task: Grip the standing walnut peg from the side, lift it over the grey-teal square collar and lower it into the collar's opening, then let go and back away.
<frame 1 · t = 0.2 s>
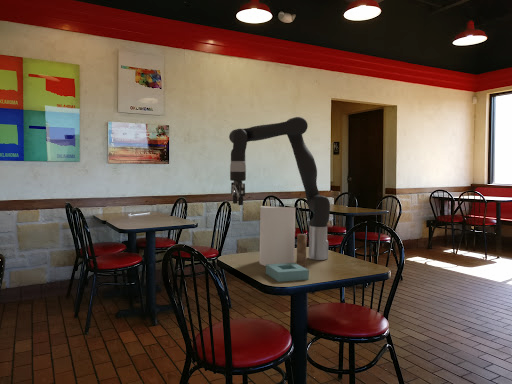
hand: (237, 204, 191), 29 cm above the table, tool pointing down, fingers open, 8 cm apart
collar: (286, 276, 171), on the table
walnut peg: (301, 268, 186), on the table
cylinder: (276, 263, 196), on the table
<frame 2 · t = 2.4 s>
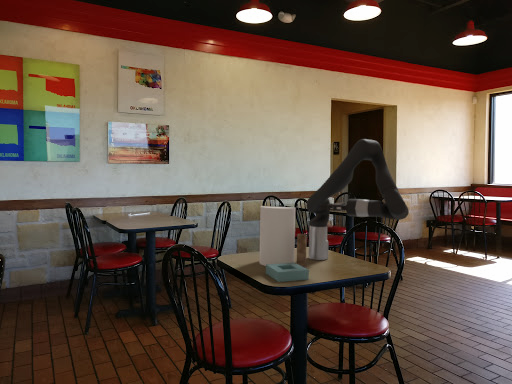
hand: (323, 206, 180), 30 cm above the table, tool horizontal, fingers open, 8 cm apart
nothing on the table moved.
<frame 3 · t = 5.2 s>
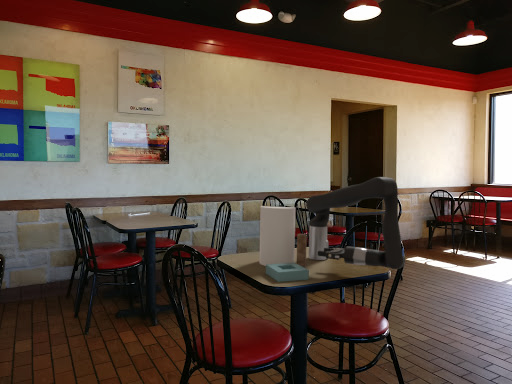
hand: (321, 251, 181), 9 cm above the table, tool horizontal, fingers open, 8 cm apart
nothing on the table moved.
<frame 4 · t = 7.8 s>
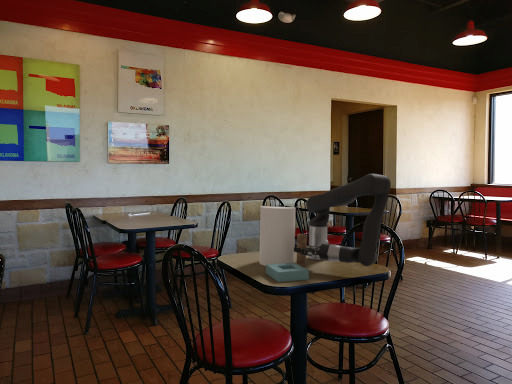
hand: (296, 248, 187), 9 cm above the table, tool horizontal, fingers closed on walnut peg, 4 cm apart
walnut peg: (301, 268, 186), on the table, touching gripper
everything else where it was.
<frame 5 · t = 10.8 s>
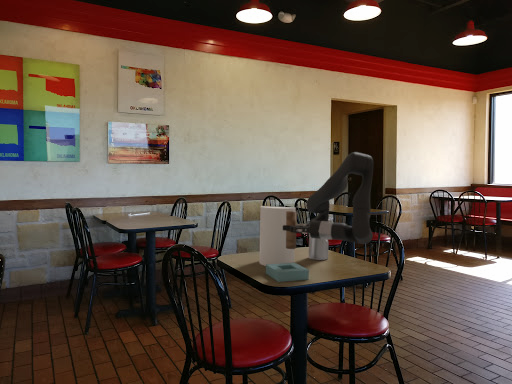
hand: (285, 227, 174), 21 cm above the table, tool horizontal, fingers closed on walnut peg, 4 cm apart
walnut peg: (290, 248, 173), point 12 cm above the table, touching gripper
everything else where it was.
when the fingers open (10 cm above the table, at t = 14.1 s): walnut peg drops 1 cm, resting in collar.
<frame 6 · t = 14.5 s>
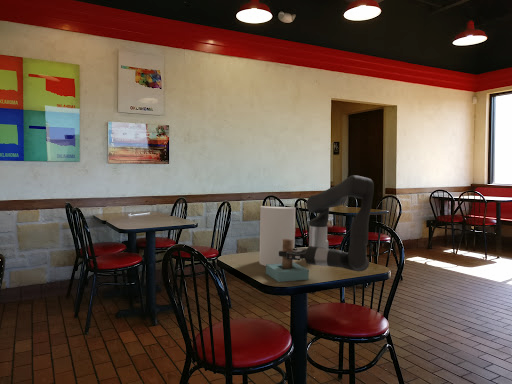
hand: (283, 251, 172), 11 cm above the table, tool horizontal, fingers open, 8 cm apart
walnut peg: (286, 276, 171), resting in collar
everything else where it was.
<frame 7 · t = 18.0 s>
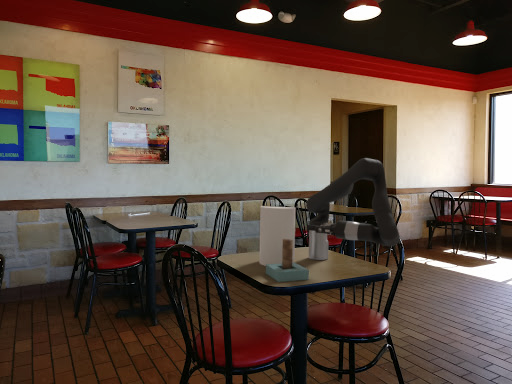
hand: (311, 226, 171), 22 cm above the table, tool horizontal, fingers open, 8 cm apart
nothing on the table moved.
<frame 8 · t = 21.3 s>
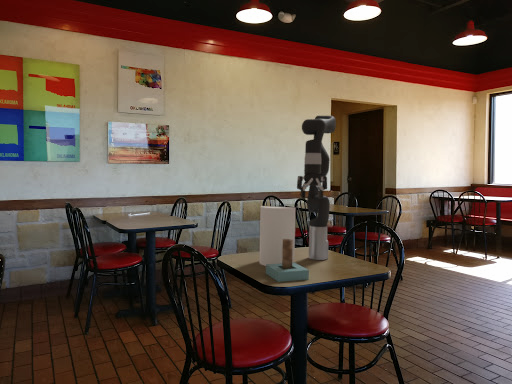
hand: (311, 198, 181), 33 cm above the table, tool pointing down, fingers open, 8 cm apart
nothing on the table moved.
at the end: walnut peg 0.1 cm off-centre on the collar, point 0.0 cm above the collar's base; walnut peg tilted 0°; the gripper is holding nothing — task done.
